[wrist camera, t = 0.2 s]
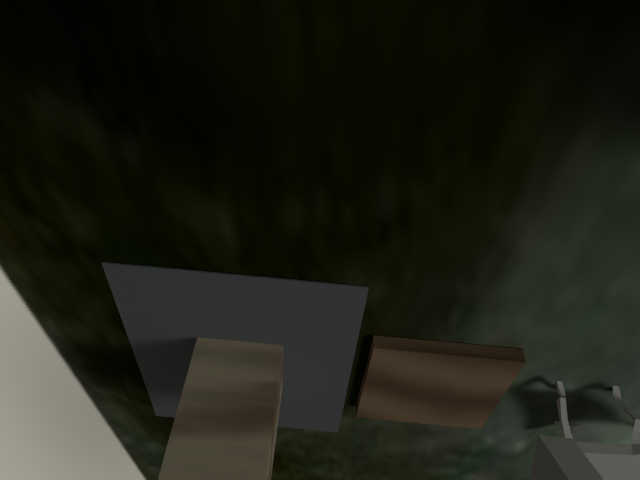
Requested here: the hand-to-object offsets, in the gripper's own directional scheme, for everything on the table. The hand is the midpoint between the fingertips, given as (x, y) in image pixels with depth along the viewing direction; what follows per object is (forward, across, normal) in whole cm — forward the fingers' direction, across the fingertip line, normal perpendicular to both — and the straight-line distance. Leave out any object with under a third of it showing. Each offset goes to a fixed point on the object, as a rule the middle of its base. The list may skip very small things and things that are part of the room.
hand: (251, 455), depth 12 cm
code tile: (+24, -4, -10) cm, 26 cm away
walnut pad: (+24, +10, -10) cm, 28 cm away
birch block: (+24, -4, -10) cm, 26 cm away
